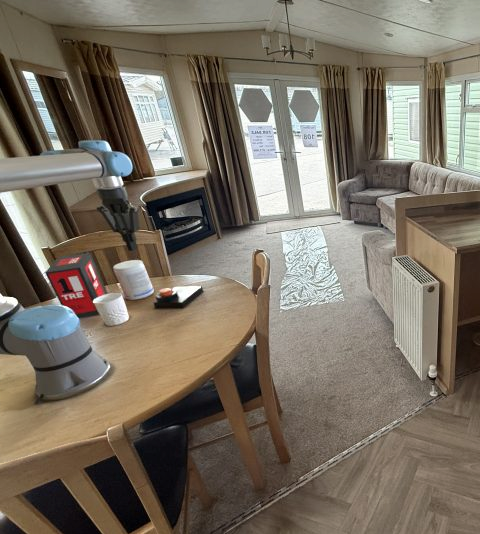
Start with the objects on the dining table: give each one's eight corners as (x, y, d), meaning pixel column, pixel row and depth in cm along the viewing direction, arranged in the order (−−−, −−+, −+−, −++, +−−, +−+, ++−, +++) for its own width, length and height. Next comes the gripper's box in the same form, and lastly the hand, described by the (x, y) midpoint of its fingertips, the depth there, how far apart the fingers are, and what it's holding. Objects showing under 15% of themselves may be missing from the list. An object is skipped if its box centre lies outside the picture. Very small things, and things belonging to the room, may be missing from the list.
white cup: (136, 316, 130) (127, 293, 126) (117, 327, 123) (106, 304, 119) (118, 314, 131) (108, 292, 127) (97, 326, 124) (86, 302, 120)
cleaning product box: (100, 314, 131) (79, 267, 123) (69, 320, 127) (45, 272, 118) (108, 296, 144) (90, 252, 135) (80, 301, 139) (59, 256, 131)
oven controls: (183, 308, 137) (180, 298, 135) (154, 308, 136) (150, 298, 134) (203, 291, 149) (200, 282, 147) (176, 291, 149) (173, 282, 147)
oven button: (168, 297, 136) (166, 292, 136) (158, 297, 136) (156, 292, 135) (174, 292, 140) (173, 287, 139) (164, 292, 140) (163, 288, 139)
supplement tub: (158, 289, 150) (147, 258, 144) (147, 299, 142) (135, 267, 136) (133, 291, 148) (121, 260, 142) (120, 301, 140) (106, 269, 134)
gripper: (137, 185, 122) (158, 246, 132) (99, 184, 122) (123, 245, 131) (121, 189, 116) (144, 253, 125) (80, 189, 115) (107, 253, 125)
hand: (133, 249), depth 128 cm, fingers closed
